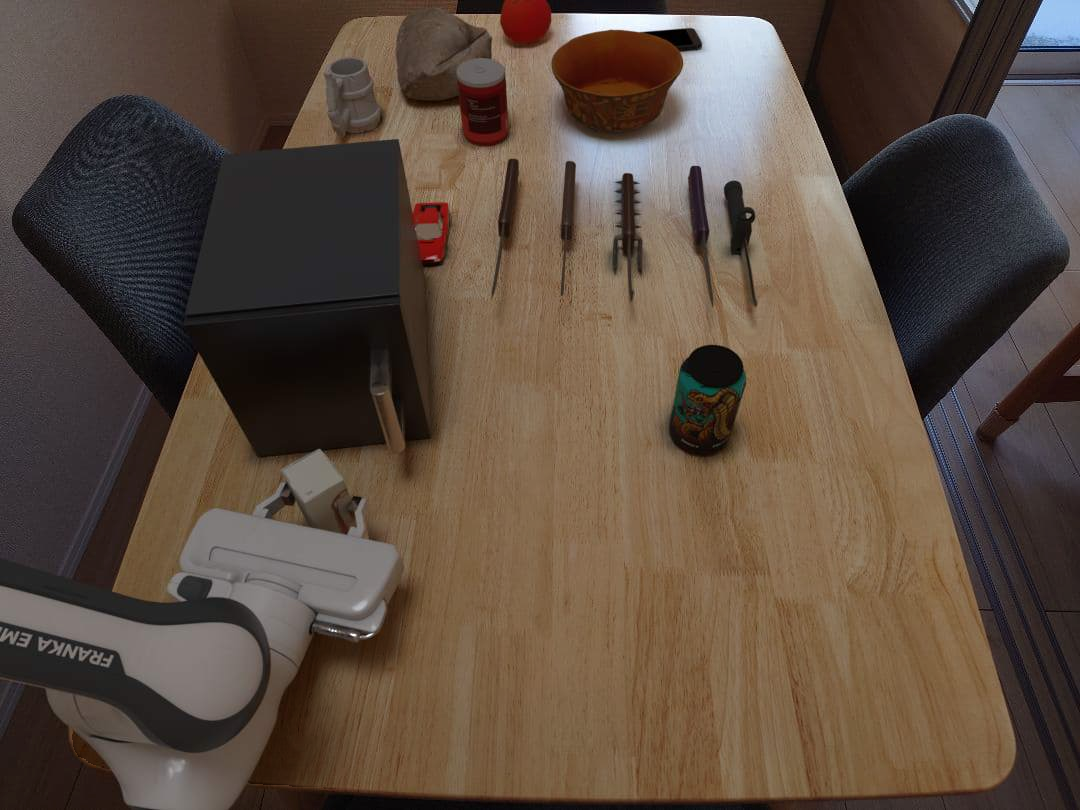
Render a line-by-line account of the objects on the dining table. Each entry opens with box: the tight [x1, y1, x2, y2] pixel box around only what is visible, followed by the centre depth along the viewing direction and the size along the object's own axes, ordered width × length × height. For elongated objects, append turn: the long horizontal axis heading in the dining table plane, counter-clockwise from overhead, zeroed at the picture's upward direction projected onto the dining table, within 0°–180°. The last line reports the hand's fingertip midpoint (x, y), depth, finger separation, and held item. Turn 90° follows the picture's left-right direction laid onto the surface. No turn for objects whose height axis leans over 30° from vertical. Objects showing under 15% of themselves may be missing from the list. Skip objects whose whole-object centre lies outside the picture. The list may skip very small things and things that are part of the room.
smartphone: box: [641, 27, 703, 51], centre depth 143 cm, size 7×15×1 cm, turn 97°
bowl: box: [550, 29, 684, 132], centre depth 125 cm, size 21×21×10 cm
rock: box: [395, 6, 493, 102], centre depth 132 cm, size 16×17×15 cm
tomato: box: [499, 0, 552, 44], centre depth 143 cm, size 9×10×8 cm
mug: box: [323, 56, 382, 138], centre depth 124 cm, size 8×12×12 cm, turn 163°
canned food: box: [456, 58, 509, 147], centre depth 122 cm, size 8×8×11 cm
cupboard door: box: [183, 297, 432, 458], centre depth 78 cm, size 7×20×22 cm, turn 97°
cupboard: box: [184, 138, 432, 431], centre depth 88 cm, size 26×20×22 cm
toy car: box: [412, 201, 451, 266], centre depth 109 cm, size 12×5×3 cm, turn 1°
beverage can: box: [668, 344, 747, 455], centre depth 83 cm, size 7×7×12 cm
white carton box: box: [280, 449, 357, 535], centre depth 76 cm, size 5×4×10 cm
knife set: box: [490, 158, 758, 308], centre depth 104 cm, size 35×33×8 cm
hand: (326, 492), depth 76 cm, fingers closed on white carton box, 6 cm apart
